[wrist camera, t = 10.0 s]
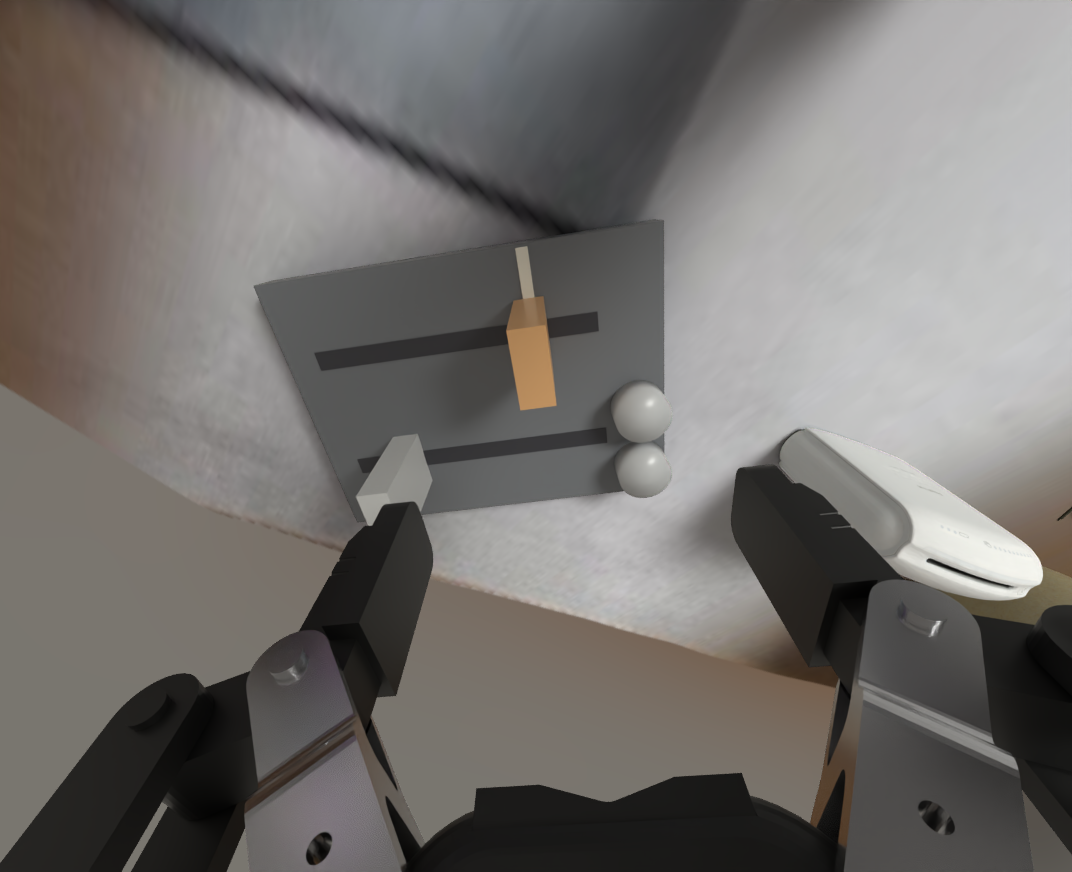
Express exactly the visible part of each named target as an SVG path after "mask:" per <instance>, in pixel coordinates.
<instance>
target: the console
mask: <svg viewBox="0 0 1072 872" xmlns="http://www.w3.org/2000/svg"><path fill="white" fill-rule="evenodd" d="M254 288H255V291H256V293H257V295H258V298H259V300H260V302H261V304H262V307H263V309H264V311H265V313H266V316H267V318H268V320H269V323H270V325H271V327H272V329H273V332H274V334H275V336H276V338H277V341H278V343H279V345H280V348H281V350H282V352H283V354H284V357H285V359H286V361H287V363H288V366H289V368H290V370H291V373H292V375H293V377H294V379H295V382H296V384H297V386H298V388H299V391H300V393H301V395H302V398H303V400H304V402H305V404H306V407H307V409H308V411H309V413H310V416H311V418H312V420H313V423H314V425H315V427H316V429H317V432H318V434H319V436H320V439H321V441H322V443H323V445H324V448H325V450H326V452H327V454H328V457H329V459H330V461H331V464H332V466H333V468H334V470H335V473H336V475H337V477H338V479H339V482H340V484H341V486H342V489H343V491H344V493H345V495H346V498H347V500H348V502H349V504H350V507H351V509H352V511H353V514H354V516H355V518H356V520H357V522H364V521H366V522H367V524H368V526H372V525H373V523H374V521H375V519H376V517H377V515H378V513H379V511H380V509H381V508H382V506H383V505H385V504H392V503H401V502H411V501H414V502H416V504H417V505H418V507H419V510H420V513H421V515H423V514H432V513H441V512H449V511H458V510H466V509H475V508H483V507H492V506H500V505H509V504H517V503H526V502H535V501H543V500H552V499H560V498H569V497H577V496H586V495H594V494H603V493H611V492H620V491H625V492H626V493H627V494H629V495H631V496H633V497H638V498H647V497H652V496H654V495H657V494H659V493H660V492H662V491H663V490H664V489H665V488H666V487H667V486H668V484H669V483H670V481H671V477H672V469H671V466H670V464H669V462H668V460H667V458H666V456H665V454H664V433H665V431H666V430H667V429H668V428H669V426H670V424H671V421H672V408H671V405H670V403H669V402H668V400H667V399H666V397H665V396H664V220H649V221H642V222H636V223H630V224H624V225H617V226H611V227H605V228H599V229H592V230H586V231H580V232H574V233H567V234H561V235H555V236H549V237H542V238H536V239H530V240H524V241H517V242H511V243H505V244H499V245H492V246H486V247H480V248H474V249H467V250H461V251H455V252H449V253H442V254H436V255H430V256H423V257H417V258H411V259H405V260H398V261H392V262H386V263H380V264H373V265H367V266H361V267H355V268H348V269H342V270H336V271H330V272H323V273H317V274H311V275H305V276H298V277H292V278H286V279H280V280H273V281H269V282H266V283H262V284H258V285H255V286H254ZM540 296H544V304H545V312H546V319H547V327H548V334H549V342H550V349H551V357H552V366H553V375H554V385H555V395H556V405H557V406H551V407H543V408H536V409H528V410H521V411H520V405H519V399H518V394H517V388H516V383H515V377H514V371H513V366H512V360H511V355H510V349H509V344H508V338H507V332H506V329H507V325H508V321H509V317H510V313H511V309H512V305H513V301H514V300H520V299H527V298H534V297H540Z"/></svg>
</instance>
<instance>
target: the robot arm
mask: <svg viewBox="0 0 1072 872" xmlns="http://www.w3.org/2000/svg"><path fill="white" fill-rule="evenodd" d="M731 526H732V531H733V535H734V538H735V540H736V542H737V544H738V546H739V548H740V549H741V551H742V553H743V555H744V556H745V558H746V560H747V562H748V563H749V565H750V567H751V568H752V570H753V572H754V574H755V575H756V577H757V579H758V580H759V582H760V584H761V586H762V587H763V589H764V591H765V593H766V594H767V596H768V598H769V599H770V601H771V603H772V605H773V606H774V608H775V610H776V612H777V613H778V615H779V617H780V618H781V620H782V622H783V624H784V625H785V627H786V629H787V630H788V632H789V634H790V636H791V637H792V639H793V641H794V643H795V644H796V646H797V648H798V649H799V651H800V653H801V655H802V656H803V658H804V660H805V662H806V663H807V665H808V667H819V666H832V668H833V669H834V671H835V673H836V674H837V676H838V677H839V680H838V683H837V686H836V690H835V697H834V702H833V708H832V714H831V720H830V727H829V733H828V739H827V745H826V751H825V757H824V763H823V769H822V774H821V780H820V784H819V788H818V791H817V795H816V799H815V802H814V807H813V811H812V815H811V820H810V823H808V822H807V821H805V820H804V819H802V818H801V817H799V816H797V815H796V814H794V813H792V812H790V811H788V810H786V809H784V808H782V807H780V806H778V805H776V804H773V803H770V802H768V801H766V800H763V799H760V798H757V797H753V796H750V795H749V792H748V790H747V787H746V784H745V781H744V778H743V776H742V773H733V774H716V775H699V776H682V777H673V778H671V779H668V780H666V781H663V782H661V783H658V784H656V785H653V786H651V787H648V788H646V789H643V790H641V791H638V792H636V793H633V794H631V795H628V796H626V797H623V798H621V799H618V800H616V801H613V802H603V801H598V800H595V799H591V798H587V797H584V796H580V795H576V794H572V793H568V792H564V791H561V790H557V789H553V788H550V787H546V786H542V785H528V786H513V787H512V786H511V787H493V788H478V789H476V798H475V807H474V811H472V812H470V813H467V814H465V815H463V816H462V817H460V818H458V819H456V820H454V821H453V822H451V823H450V824H448V825H447V826H446V827H444V828H443V829H442V830H440V831H439V832H438V833H436V834H435V835H434V836H433V837H432V838H431V839H430V840H429V841H428V842H427V843H425V842H424V839H423V837H422V835H421V832H420V830H419V828H418V826H417V824H416V822H415V819H414V818H413V815H412V813H411V811H410V809H409V807H408V805H407V803H406V800H405V798H404V796H403V793H402V791H401V788H400V785H399V783H398V780H397V778H396V775H395V772H394V770H393V767H392V765H391V762H390V760H389V757H388V755H387V752H386V749H385V747H384V744H383V742H382V739H381V737H380V734H379V731H378V729H377V727H376V724H375V722H374V719H373V717H372V715H371V714H372V711H373V708H374V704H375V701H376V698H377V697H386V696H396V694H397V690H398V687H399V684H400V680H401V677H402V673H403V669H404V666H405V663H406V659H407V656H408V652H409V648H410V645H411V641H412V638H413V635H414V631H415V628H416V624H417V620H418V617H419V613H420V610H421V606H422V603H423V600H424V596H425V592H426V589H427V586H428V582H429V579H430V575H431V572H432V567H433V551H432V546H431V543H430V540H429V537H428V534H427V531H426V528H425V525H424V522H423V519H422V516H421V513H420V510H419V507H418V505H417V504H416V502H414V501H411V502H401V503H392V504H385V505H383V506H382V508H381V509H380V511H379V513H378V515H377V517H376V519H375V521H374V523H373V525H372V526H364V527H363V528H362V529H361V530H360V531H359V532H358V533H357V534H356V535H355V536H354V537H353V538H352V539H351V540H350V541H349V542H348V544H347V545H346V547H345V549H344V551H343V553H342V554H341V556H340V558H339V559H340V561H339V562H337V564H336V565H335V567H334V569H333V571H332V576H330V577H329V578H328V580H327V582H326V584H325V585H324V587H323V589H322V591H321V593H320V594H319V596H318V598H317V600H316V601H315V603H314V605H313V607H312V609H311V611H310V612H309V614H308V616H307V618H306V620H305V621H304V623H303V625H302V627H301V629H300V630H299V632H296V633H293V634H290V635H288V636H286V637H284V638H283V639H281V640H279V641H278V642H276V643H275V644H273V645H272V646H271V647H270V648H268V649H267V650H266V651H265V652H264V653H263V654H262V656H260V658H259V659H258V660H257V662H256V663H255V664H254V666H253V667H252V669H251V671H249V672H246V673H244V674H241V675H238V676H235V677H233V678H230V679H227V680H225V681H222V682H219V683H217V684H214V685H211V686H208V687H206V688H205V687H203V685H202V684H201V683H200V682H199V681H198V679H197V678H196V677H195V676H193V675H191V674H186V673H183V674H176V675H172V676H168V677H166V678H163V679H161V680H159V681H157V682H155V683H153V684H151V685H150V686H148V687H146V688H145V689H143V690H142V691H140V692H139V693H138V694H136V695H135V696H134V697H132V698H131V699H130V700H129V701H128V702H127V703H126V704H125V705H124V706H123V707H122V708H121V709H120V710H119V711H118V712H117V713H116V714H115V715H114V717H113V718H112V719H111V720H110V722H109V723H108V724H107V725H106V727H105V728H104V729H103V731H102V732H101V733H100V735H99V736H98V737H97V739H96V740H95V741H94V742H93V744H92V745H91V746H90V747H89V749H88V750H87V752H86V753H85V754H84V755H83V757H82V758H81V759H80V760H79V762H78V763H77V764H76V766H75V767H74V768H73V769H72V771H71V772H70V773H69V775H68V776H67V777H66V779H65V780H64V781H63V783H62V784H61V785H60V786H59V788H58V789H57V790H56V792H55V793H54V794H53V795H52V797H51V798H50V799H49V801H48V802H47V803H46V805H45V806H44V807H43V808H42V810H41V811H40V812H39V814H38V815H37V816H36V817H35V819H34V820H33V821H32V823H31V824H30V825H29V827H28V828H27V829H26V830H25V832H24V833H23V834H22V836H21V837H20V838H19V840H18V841H17V842H16V843H15V845H14V846H13V847H12V849H11V850H10V851H9V853H8V854H7V855H6V856H5V858H4V859H3V860H2V862H1V863H0V872H122V870H123V868H124V866H125V864H126V862H127V861H128V859H129V858H130V856H131V854H132V852H133V851H134V849H135V847H136V846H137V844H138V842H139V840H140V838H141V837H142V835H143V833H144V832H145V830H146V828H147V827H148V825H149V823H150V821H151V820H152V818H153V816H154V814H155V813H156V811H157V809H158V808H159V806H160V804H161V802H163V803H165V804H166V805H167V806H168V807H167V809H166V811H165V813H164V814H163V816H162V818H161V820H160V821H159V823H158V825H157V827H156V828H155V830H154V832H153V834H152V836H151V838H150V839H149V841H148V843H147V844H146V846H145V848H144V850H143V851H142V853H141V855H140V857H139V859H138V861H137V862H136V864H135V866H134V868H133V869H132V871H131V872H227V869H228V867H229V864H230V862H231V860H232V857H233V855H234V853H235V850H236V848H237V845H238V843H239V841H240V838H241V836H242V834H243V831H244V829H246V840H247V851H248V861H249V872H1034V869H1033V862H1032V856H1031V849H1030V842H1029V835H1028V828H1027V821H1026V815H1025V808H1024V802H1023V794H1022V790H1023V791H1024V792H1025V794H1026V795H1027V797H1028V798H1029V799H1030V801H1031V802H1032V803H1033V804H1034V806H1035V807H1036V808H1037V809H1038V811H1039V812H1040V814H1041V815H1042V816H1043V817H1044V819H1045V820H1046V821H1047V823H1048V824H1049V825H1050V827H1051V828H1052V829H1053V831H1055V833H1056V834H1057V836H1058V837H1059V838H1060V840H1061V841H1062V842H1063V844H1064V845H1065V846H1066V848H1067V849H1068V850H1069V851H1070V853H1071V854H1072V605H1056V606H1053V607H1049V608H1048V609H1046V610H1045V611H1044V612H1043V613H1042V615H1041V616H1040V618H1039V619H1038V621H1037V622H1036V624H1035V625H1033V624H1027V623H1021V622H1014V621H1008V620H1002V619H996V618H990V617H984V616H978V615H973V614H971V613H970V612H969V611H968V610H967V609H966V608H965V607H963V606H962V605H961V604H960V603H958V602H957V601H956V600H954V599H953V598H951V597H950V596H948V595H946V594H944V593H943V592H941V591H939V590H936V589H934V588H932V587H929V586H927V585H924V584H921V583H917V582H913V581H907V580H904V579H903V578H902V577H901V576H900V575H899V574H898V573H897V572H896V571H895V570H894V569H893V568H892V567H891V566H890V565H889V564H888V563H887V562H886V561H885V560H884V558H883V557H882V556H881V555H880V554H879V553H878V552H877V551H876V550H875V549H874V548H873V547H872V546H871V545H870V544H869V543H868V542H867V541H866V540H865V539H864V538H863V537H862V536H861V535H860V534H859V533H858V532H857V530H856V529H855V528H851V524H850V523H849V522H848V521H847V520H846V519H845V518H844V517H843V516H842V515H841V514H840V515H839V514H838V511H837V510H836V509H835V508H834V507H833V506H832V505H831V504H830V502H829V501H828V500H827V499H826V498H825V497H824V496H823V495H821V494H819V493H818V492H816V491H814V490H812V489H811V488H809V487H807V486H805V485H803V484H802V483H794V484H792V483H791V482H790V481H789V480H788V479H787V477H786V476H785V475H784V474H783V473H782V472H781V471H780V470H779V469H778V468H777V467H776V466H775V465H762V466H752V467H743V468H739V469H738V471H737V473H736V479H735V488H734V496H733V505H732V513H731Z"/></svg>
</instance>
